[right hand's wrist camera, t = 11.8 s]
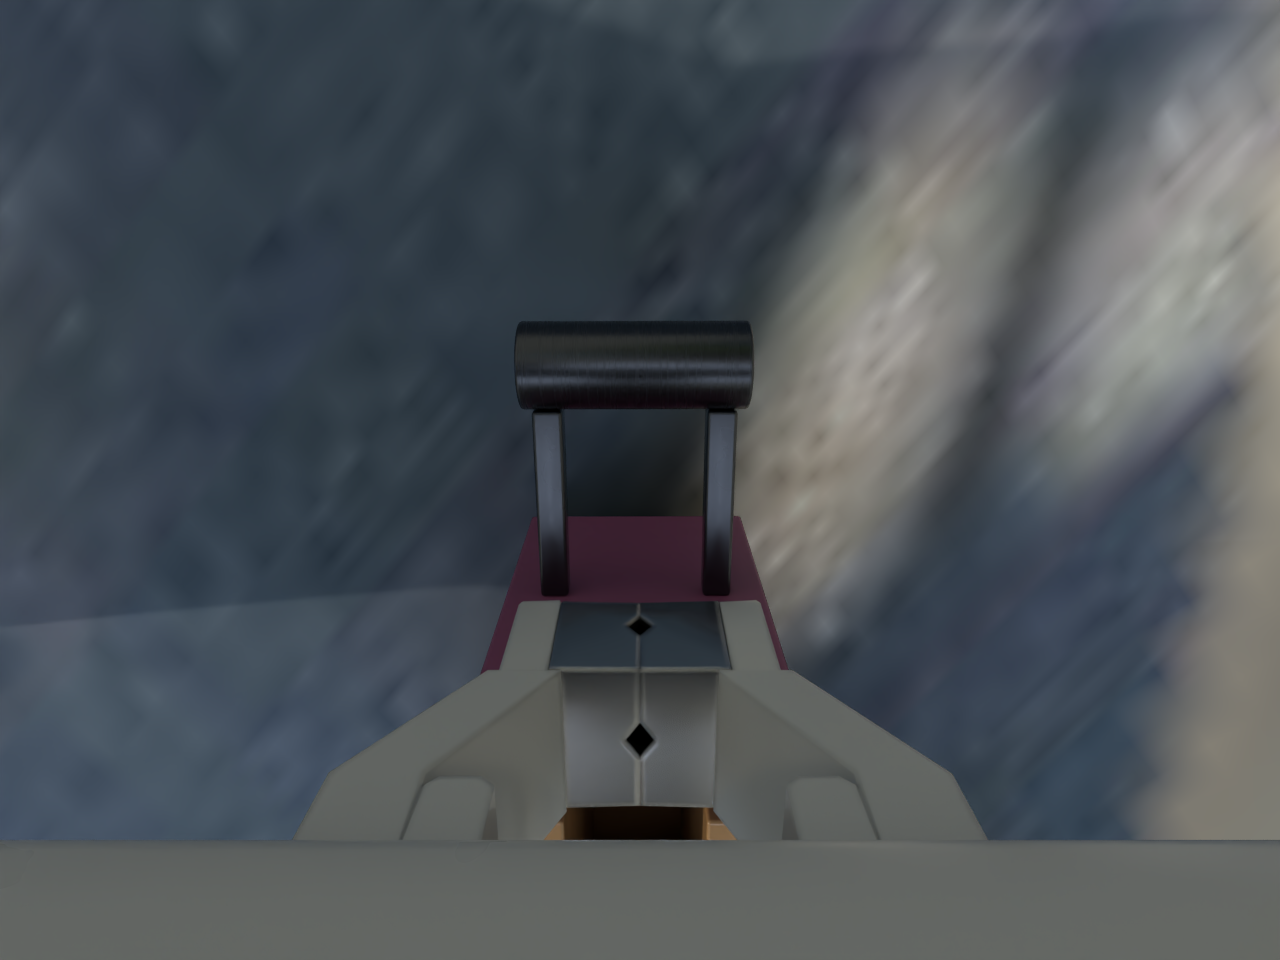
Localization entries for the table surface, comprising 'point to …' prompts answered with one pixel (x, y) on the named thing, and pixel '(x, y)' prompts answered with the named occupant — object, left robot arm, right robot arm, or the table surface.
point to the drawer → (634, 545)
